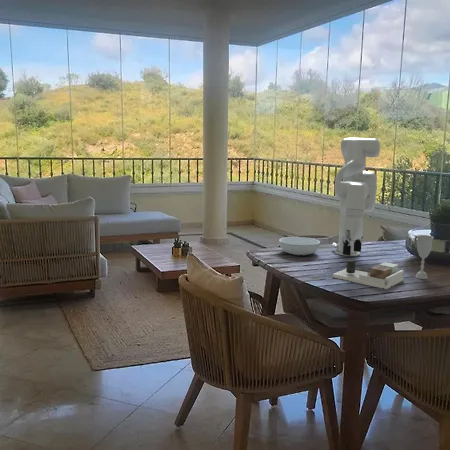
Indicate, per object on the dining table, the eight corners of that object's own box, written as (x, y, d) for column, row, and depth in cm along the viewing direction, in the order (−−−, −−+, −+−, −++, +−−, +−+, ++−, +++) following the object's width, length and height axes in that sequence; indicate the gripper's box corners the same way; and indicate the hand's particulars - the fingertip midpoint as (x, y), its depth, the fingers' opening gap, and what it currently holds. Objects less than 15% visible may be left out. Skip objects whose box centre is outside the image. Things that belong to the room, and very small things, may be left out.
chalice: (421, 280, 211) (425, 238, 208) (409, 276, 217) (412, 235, 214) (433, 278, 215) (437, 237, 211) (421, 274, 221) (424, 234, 217)
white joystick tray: (332, 277, 213) (333, 261, 212) (350, 269, 226) (351, 255, 225) (386, 289, 198) (388, 272, 197) (403, 280, 211) (404, 264, 209)
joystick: (343, 274, 211) (344, 261, 210) (349, 271, 216) (350, 258, 215) (383, 283, 200) (384, 269, 199) (389, 280, 204) (390, 266, 203)
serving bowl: (328, 254, 254) (328, 241, 253) (299, 260, 241) (300, 246, 240) (297, 247, 270) (298, 234, 269) (270, 252, 257) (270, 239, 256)
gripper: (355, 210, 216) (353, 249, 219) (336, 213, 203) (333, 254, 206) (372, 212, 212) (369, 251, 214) (353, 215, 199) (350, 257, 201)
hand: (351, 253), depth 210 cm, fingers open, 9 cm apart
